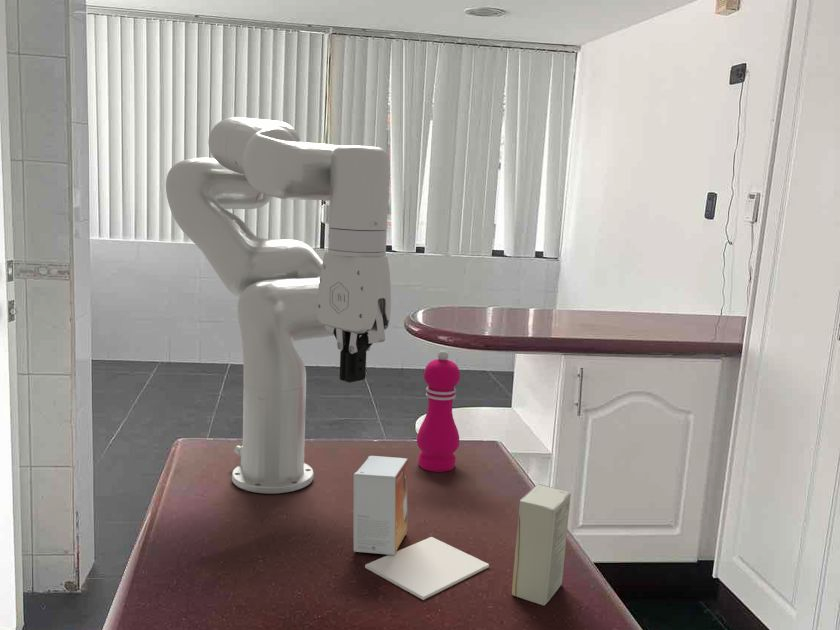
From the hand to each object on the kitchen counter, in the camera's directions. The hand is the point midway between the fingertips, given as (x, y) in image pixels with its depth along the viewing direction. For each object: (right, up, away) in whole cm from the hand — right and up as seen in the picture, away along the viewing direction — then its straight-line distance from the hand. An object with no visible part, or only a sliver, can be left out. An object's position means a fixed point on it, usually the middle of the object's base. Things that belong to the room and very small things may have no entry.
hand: (352, 379), depth 106 cm
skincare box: (+23, -25, -11) cm, 35 cm away
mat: (+10, -23, -7) cm, 26 cm away
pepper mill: (+12, -17, +28) cm, 35 cm away
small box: (+4, -22, -1) cm, 22 cm away
